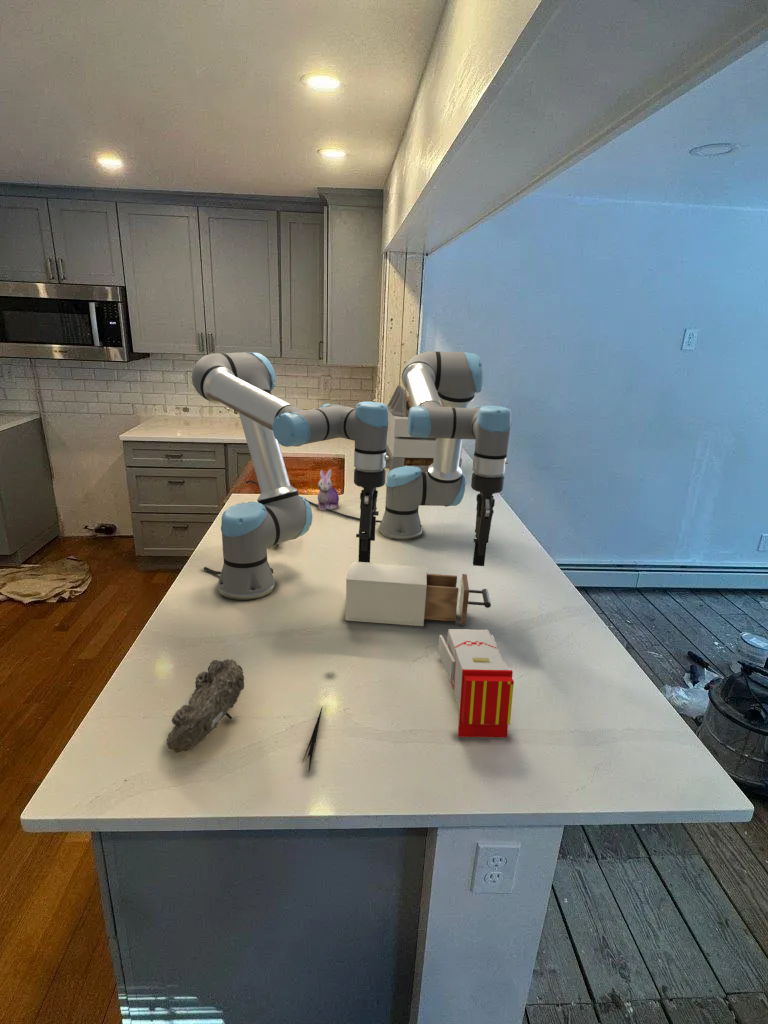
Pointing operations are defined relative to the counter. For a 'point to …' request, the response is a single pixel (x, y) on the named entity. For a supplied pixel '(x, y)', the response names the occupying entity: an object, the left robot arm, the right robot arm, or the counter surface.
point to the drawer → (449, 598)
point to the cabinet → (386, 593)
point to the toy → (478, 682)
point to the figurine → (327, 492)
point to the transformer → (406, 436)
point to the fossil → (206, 705)
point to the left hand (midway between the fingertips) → (367, 550)
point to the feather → (313, 740)
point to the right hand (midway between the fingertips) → (478, 564)
